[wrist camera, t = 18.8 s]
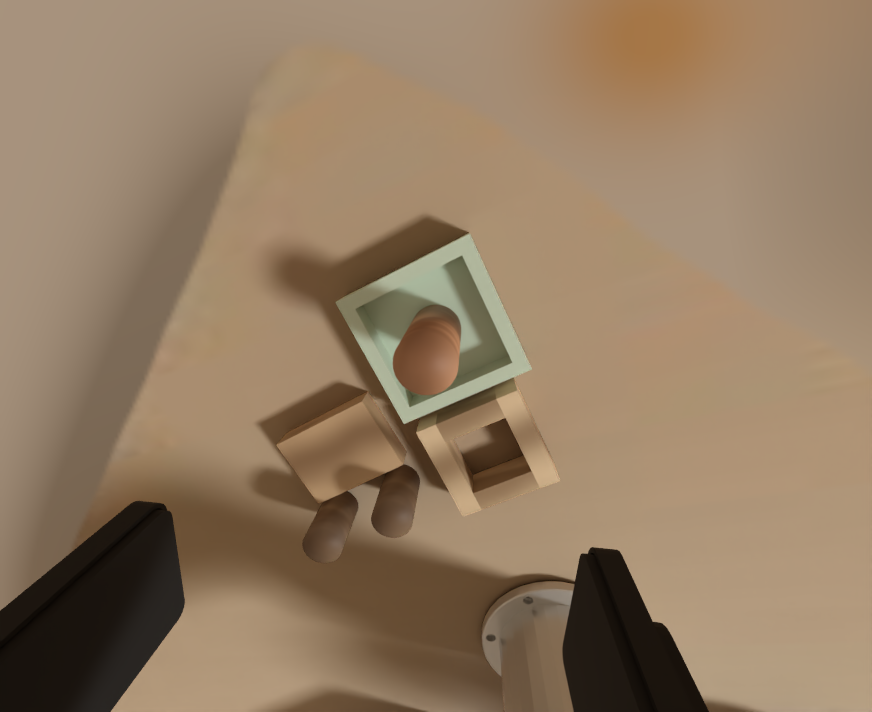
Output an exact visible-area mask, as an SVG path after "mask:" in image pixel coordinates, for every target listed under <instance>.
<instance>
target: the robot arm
mask: <svg viewBox="0 0 872 712" xmlns="http://www.w3.org/2000/svg"><path fill="white" fill-rule="evenodd" d="M184 604H185V599H184V592H183V586H182V579H181V572H180V566H179V559H178V552H177V545H176V539H175V532H174V525H173V518H172V514H171V512H170V511H167V509H166V506H165V505H164V504H161V503H153V502H143V501H136V502H133V503H131V504H130V505H129V506H127V507H126V508H125V509H124V510H122V511H121V512H120V513H119V514H118V515H116V516H115V517H114V518H113V519H112V520H110V521H109V522H108V523H107V524H105V525H104V526H103V527H102V528H101V529H99V530H98V531H97V532H96V533H94V534H93V535H92V536H91V537H90V538H88V539H87V540H86V541H85V542H83V543H82V544H81V545H80V546H79V547H77V548H76V549H75V550H74V551H73V552H71V553H70V554H69V555H68V556H66V557H65V558H64V559H63V560H62V561H61V562H59V563H58V564H57V565H55V566H54V567H53V568H52V569H51V570H49V571H48V572H47V573H46V574H45V575H43V576H42V577H41V578H40V579H38V580H37V581H36V582H35V583H34V584H32V585H31V586H30V587H29V588H28V589H26V590H25V591H24V592H23V593H21V594H20V595H19V596H18V597H17V598H15V599H14V600H13V601H12V602H11V603H9V604H8V605H7V606H6V607H5V608H3V609H2V610H1V611H0V712H110V711H111V710H112V709H113V707H114V706H115V705H116V703H117V702H118V701H119V699H120V698H121V697H122V695H123V694H124V693H125V691H126V690H127V688H128V687H129V686H130V684H131V683H132V682H133V680H134V679H135V678H136V676H137V675H138V674H139V672H140V671H141V670H142V668H143V667H144V665H145V664H146V663H147V661H148V660H149V659H150V657H151V656H152V655H153V653H154V652H155V651H156V649H157V648H158V646H159V645H160V644H161V642H162V641H163V640H164V638H165V637H166V636H167V634H168V633H169V632H170V630H171V629H172V628H173V626H174V625H175V623H176V622H177V621H178V619H179V618H180V616H181V614H182V612H183V608H184ZM482 648H483V651H484V654H485V657H486V659H487V661H488V663H489V664H490V666H491V667H492V668H493V669H494V670H495V671H496V673H497V674H498V675H500V676H501V677H502V690H503V703H504V712H709V711H708V709H707V707H706V705H705V703H704V701H703V699H702V697H701V695H700V692H699V690H698V688H697V686H696V684H695V682H694V680H693V678H692V676H691V674H690V672H689V670H688V668H687V666H686V664H685V662H684V660H683V658H682V656H681V654H680V652H679V650H678V648H677V646H676V644H675V642H674V640H673V638H672V636H671V634H670V632H669V631H668V629H667V628H666V627H665V626H664V625H663V624H662V623H658V622H653V621H652V619H651V617H650V615H649V613H648V611H647V608H646V606H645V604H644V602H643V600H642V598H641V596H640V593H639V591H638V589H637V587H636V585H635V583H634V580H633V578H632V576H631V574H630V572H629V570H628V567H627V565H626V563H625V561H624V559H623V557H622V555H621V553H620V551H618V550H613V549H604V548H594V547H592V548H590V550H589V552H588V554H581V556H580V559H579V564H578V569H577V574H576V580H575V584H571V583H566V582H557V581H544V582H536V583H531V584H527V585H524V586H520V587H518V588H516V589H514V590H511V591H509V592H508V593H506V594H505V595H503V596H502V597H500V598H499V599H498V600H497V601H496V602H495V603H494V604H493V605H492V606H491V607H490V609H489V611H488V612H487V614H486V616H485V618H484V622H483V625H482Z"/></svg>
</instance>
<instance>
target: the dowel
mask: <svg viewBox="0 0 872 712" xmlns="http://www.w3.org/2000/svg"><path fill="white" fill-rule="evenodd" d="M460 341H461V323H460V320H459V318H458V316H457V315H456V314H455V313H454V312H453V311H452V310H451V309H450V308H448V307H446V306H442V305H430V306H427V307H424V308H423V309H421V310H420V311H419V312H418V313H417V314H416V316H415V317H414V319H413V321H412V322H411V324H410V326H409V328H408V329H407V331H406V333H405V334H404V336H403V338H402V340H401V341H400V343H399V345H398V347H397V348H396V350H395V353H394V356H393V370H394V373H395V376H396V378H397V379H398V381H399V382H400V383H401V385H402V386H403V387H405V388H406V389H407V390H409V391H411V392H413V393H415V394H419V395H434V394H437V393H440V392H442V391H444V390H445V389H447V388H448V387H449V386H450V385H451V384H452V383H453V381H454V380H455V378H456V376H457V372H458V366H459V354H460Z"/></svg>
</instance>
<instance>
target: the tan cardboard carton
mask: <svg viewBox="0 0 872 712" xmlns="http://www.w3.org/2000/svg"><path fill="white" fill-rule="evenodd" d="M276 446H277V447H278V448H279V450H280V451H281V453H282V454H283V455H284V457H285V458H286V460H287V461H288V462H289V464H290V465H291V466H292V468H293V469H294V471H295V472H296V473H297V475H298V476H299V478H300V479H301V480H302V482H303V483H304V484H305V486H306V487H307V489H308V490H309V491H310V493H311V494H312V496H313V497H314V498H315V500H316V501H317V502H318V504H320V503H322V502H324V501H326V500H328V499H330V498H333V497H335V496H337V495H339V494H341V493H343V492H346V491H348V490H350V489H352V488H354V487H356V486H359V485H361V484H363V483H365V482H367V481H369V480H372V479H374V478H376V477H378V476H380V475H382V474H385V473H387V472H389V471H391V470H393V469H395V468H398V467H400V466H402V465H403V463H404V459H405V455H406V450H405V449H404V447H403V445H402V444H401V442H400V441H399V439H398V438H397V436H396V435H395V433H394V431H393V430H392V428H391V427H390V425H389V424H388V422H387V420H386V419H385V417H384V416H383V414H382V413H381V411H380V409H379V408H378V406H377V405H376V403H375V402H374V400H373V398H372V397H371V395H370V394H369V392H368V391H367V392H365V393H364V394H362V395H360V396H358V397H356V398H354V399H352V400H350V401H348V402H346V403H344V404H342V405H340V406H338V407H336V408H334V409H332V410H330V411H328V412H326V413H325V414H323V415H321V416H319V417H317V418H315V419H313V420H311V421H309V422H307V423H305V424H303V425H301V426H299V427H297V428H295V429H293V430H291V431H289V432H288V433H286V434H285V435H284V437H283V438H282V439H281V440H280V441H279V442H278V444H277V445H276Z"/></svg>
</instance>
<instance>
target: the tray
mask: <svg viewBox="0 0 872 712" xmlns="http://www.w3.org/2000/svg"><path fill="white" fill-rule="evenodd" d="M335 303H336V305H337V306H338V308H339V310H340V312H341V313H342V315H343V317H344V319H345V321H346V322H347V324H348V326H349V328H350V329H351V331H352V333H353V335H354V336H355V338H356V340H357V342H358V344H359V345H360V347H361V349H362V351H363V352H364V354H365V356H366V358H367V360H368V361H369V363H370V365H371V367H372V368H373V370H374V372H375V374H376V376H377V377H378V379H379V381H380V383H381V384H382V386H383V388H384V390H385V391H386V393H387V395H388V397H389V399H390V400H391V402H392V404H393V406H394V407H395V409H396V411H397V413H398V415H399V416H400V418H401V420H402V422H403V423H404V424H405V423H408V422H410V421H412V420H415V419H417V418H419V417H422V416H424V415H426V414H429V413H431V412H433V411H436V410H438V409H440V408H443V407H445V406H447V405H450V404H452V403H455V402H457V401H459V400H462V399H464V398H466V397H469V396H471V395H473V394H476V393H478V392H480V391H483V390H485V389H487V388H490V387H492V386H494V385H497V384H499V383H501V382H504V381H506V380H508V379H511V378H513V377H515V376H518V375H520V374H522V373H525V372H527V371H529V370H532V369H531V366H530V364H529V362H528V359H527V357H526V355H525V353H524V350H523V348H522V346H521V344H520V342H519V339H518V337H517V335H516V333H515V331H514V329H513V326H512V324H511V322H510V320H509V318H508V315H507V313H506V311H505V309H504V307H503V305H502V302H501V300H500V298H499V296H498V294H497V291H496V289H495V287H494V285H493V283H492V281H491V278H490V276H489V274H488V272H487V270H486V267H485V265H484V263H483V261H482V259H481V257H480V254H479V252H478V250H477V248H476V246H475V243H474V241H473V239H472V237H471V235H470V233H467V234H466V235H464V236H462V237H460V238H458V239H456V240H454V241H452V242H450V243H448V244H446V245H444V246H442V247H440V248H438V249H436V250H434V251H432V252H430V253H428V254H426V255H424V256H422V257H421V258H419V259H417V260H415V261H413V262H411V263H409V264H407V265H405V266H403V267H401V268H399V269H397V270H395V271H393V272H391V273H389V274H387V275H385V276H383V277H381V278H379V279H377V280H376V281H374V282H372V283H370V284H368V285H366V286H364V287H362V288H360V289H358V290H356V291H354V292H352V293H350V294H348V295H346V296H344V297H343V298H341V299H339V300H338V301H336V302H335ZM430 305H442V306H446V307H448V308H450V309H451V310H452V311H453V312H454V313H455V314H456V315H457V316H458V318H459V320H460V323H461V341H460V354H459V366H458V372H457V376H456V378H455V380H454V381H453V383H452V384H451V385H450V386H449V387H448V388H447V389H445V390H444V391H442V392H440V393H437V394H434V395H419V394H415V393H413V392H411V391H409V390H407V389H406V388H405V387H403V386H402V385H401V383H400V382H399V381H398V379H397V378H396V376H395V373H394V370H393V356H394V353H395V350H396V348H397V347H398V345H399V343H400V341H401V340H402V338H403V336H404V334H405V333H406V331H407V329H408V328H409V326H410V324H411V322H412V321H413V319H414V317H415V316H416V314H417V313H418V312H419V311H420V310H421V309H423V308H424V307H427V306H430Z"/></svg>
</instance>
